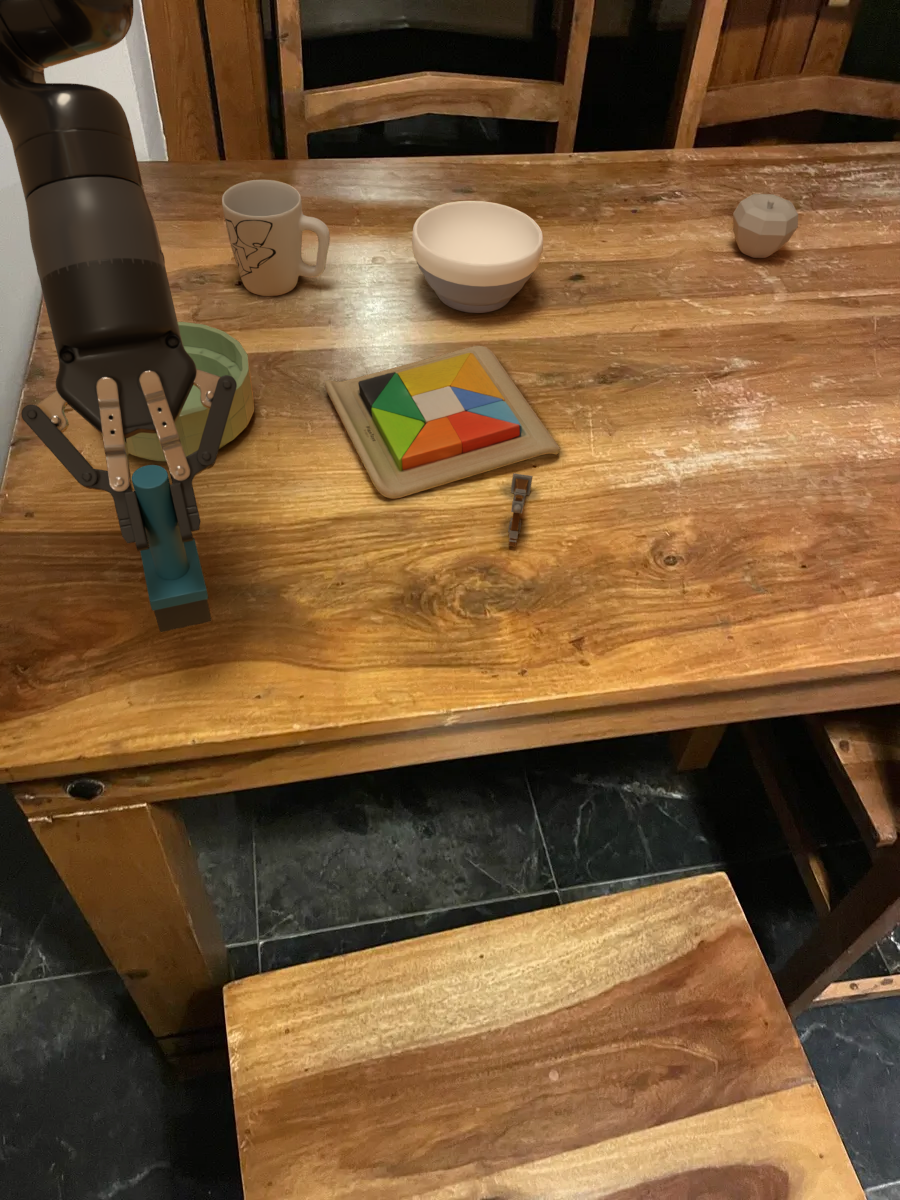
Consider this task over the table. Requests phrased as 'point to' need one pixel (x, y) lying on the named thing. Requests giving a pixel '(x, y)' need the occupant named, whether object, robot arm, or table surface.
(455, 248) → the bowl
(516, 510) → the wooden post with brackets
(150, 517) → the teal peg on base
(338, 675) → the table surface
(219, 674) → the table surface
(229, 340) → the wash bowl
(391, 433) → the wooden puzzle
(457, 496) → the table surface
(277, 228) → the mug
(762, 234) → the apple
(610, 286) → the table surface
